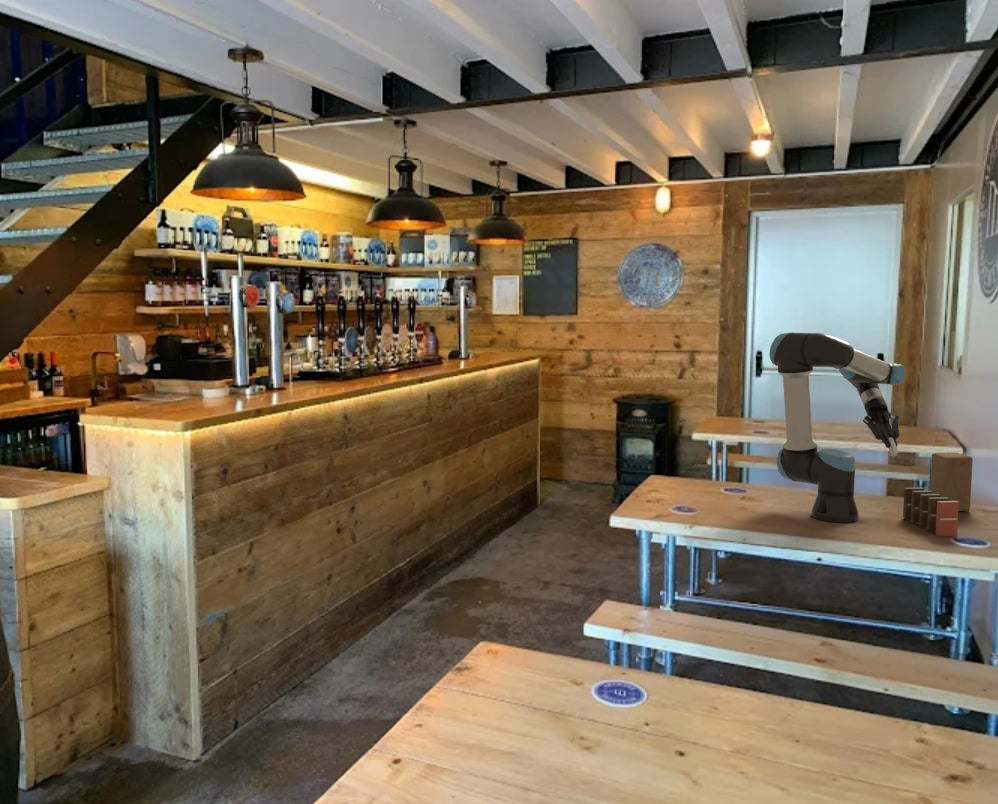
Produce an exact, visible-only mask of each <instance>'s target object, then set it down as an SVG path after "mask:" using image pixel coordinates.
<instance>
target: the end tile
mask: <svg viewBox="0 0 998 804" xmlns="http://www.w3.org/2000/svg"><path fill="white" fill-rule="evenodd" d="M958 509H959V502H957V501H937V515H936V532H935V536H937V535H938V536H937V537H957V536H958V524H959V512H958Z"/></svg>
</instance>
